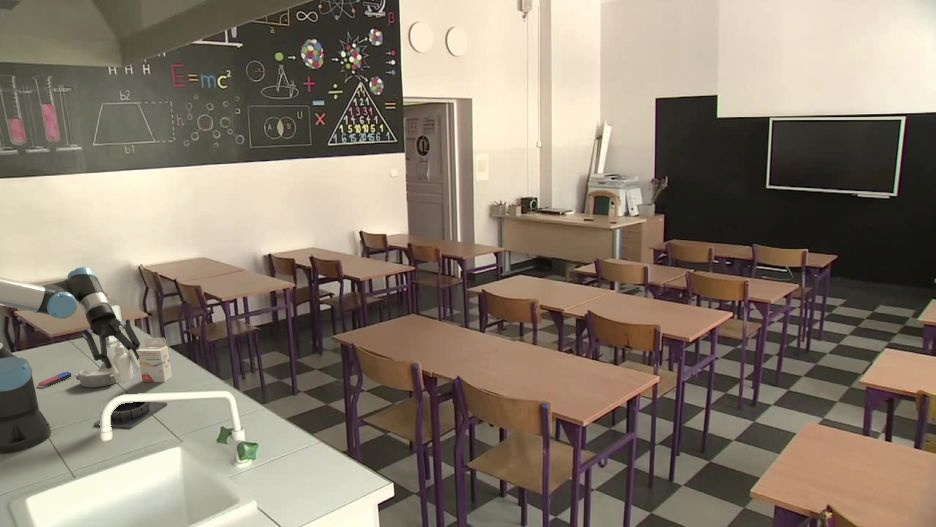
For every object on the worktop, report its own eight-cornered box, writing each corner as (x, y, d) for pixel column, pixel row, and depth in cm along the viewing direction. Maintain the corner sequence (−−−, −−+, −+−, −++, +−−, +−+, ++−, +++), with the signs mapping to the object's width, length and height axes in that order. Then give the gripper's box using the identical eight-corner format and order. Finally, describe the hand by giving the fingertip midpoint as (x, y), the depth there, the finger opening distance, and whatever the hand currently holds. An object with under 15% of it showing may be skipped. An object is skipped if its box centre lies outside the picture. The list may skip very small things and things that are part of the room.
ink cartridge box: (141, 382, 228) (135, 342, 224) (149, 377, 232) (143, 337, 229) (165, 382, 227) (158, 341, 224) (172, 376, 232) (166, 337, 228)
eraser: (43, 389, 227) (42, 385, 226) (35, 388, 228) (34, 383, 228) (73, 376, 237) (72, 372, 236) (66, 375, 238) (65, 371, 238)
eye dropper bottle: (112, 381, 198) (105, 344, 196) (130, 375, 203) (124, 338, 200) (119, 384, 196) (112, 346, 193) (137, 378, 200) (131, 340, 197)
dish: (71, 388, 226) (69, 374, 225) (102, 373, 239) (100, 360, 238) (107, 390, 223) (104, 376, 222) (136, 374, 236) (134, 361, 235)
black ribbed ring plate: (131, 428, 192) (130, 417, 192) (94, 425, 195) (92, 415, 194) (167, 404, 208) (165, 395, 207) (131, 403, 210) (130, 393, 210)
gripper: (127, 310, 212) (156, 369, 205) (63, 325, 199) (93, 388, 192) (131, 297, 208) (161, 356, 200) (66, 311, 194) (96, 375, 187)
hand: (127, 372), depth 196 cm, fingers closed on eye dropper bottle, 5 cm apart
